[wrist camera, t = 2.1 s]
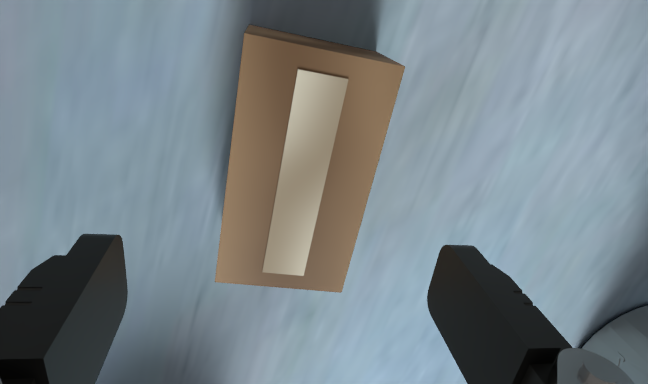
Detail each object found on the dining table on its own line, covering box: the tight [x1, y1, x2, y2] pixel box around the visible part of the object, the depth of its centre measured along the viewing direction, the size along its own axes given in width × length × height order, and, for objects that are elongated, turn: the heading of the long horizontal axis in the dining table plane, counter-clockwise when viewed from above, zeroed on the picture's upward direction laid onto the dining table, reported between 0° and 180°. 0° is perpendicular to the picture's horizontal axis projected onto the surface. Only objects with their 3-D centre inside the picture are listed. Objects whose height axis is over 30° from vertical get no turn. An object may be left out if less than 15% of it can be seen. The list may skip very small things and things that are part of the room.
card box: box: [215, 25, 405, 292], centre depth 16 cm, size 5×9×4 cm, turn 168°
